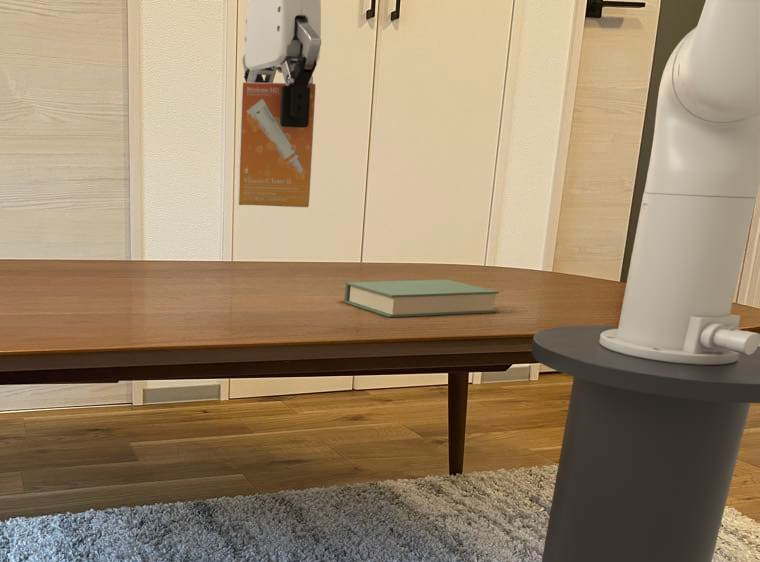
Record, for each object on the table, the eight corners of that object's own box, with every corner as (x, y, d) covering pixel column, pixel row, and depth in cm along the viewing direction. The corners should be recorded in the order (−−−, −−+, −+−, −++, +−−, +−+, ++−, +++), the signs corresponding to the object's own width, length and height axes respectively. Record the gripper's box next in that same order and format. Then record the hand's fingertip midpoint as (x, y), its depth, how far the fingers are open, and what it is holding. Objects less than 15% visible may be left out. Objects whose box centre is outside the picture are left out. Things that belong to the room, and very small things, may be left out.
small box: (238, 206, 87) (241, 81, 83) (238, 203, 93) (241, 87, 89) (310, 207, 87) (316, 82, 83) (305, 205, 93) (311, 88, 89)
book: (496, 312, 111) (499, 291, 110) (389, 317, 104) (392, 295, 104) (443, 298, 122) (445, 279, 121) (344, 302, 115) (345, 282, 114)
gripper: (356, -62, 76) (344, 126, 81) (277, -25, 92) (271, 132, 97) (288, -72, 73) (280, 124, 78) (218, -32, 89) (215, 130, 94)
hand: (275, 127), depth 88 cm, fingers closed on small box, 8 cm apart
